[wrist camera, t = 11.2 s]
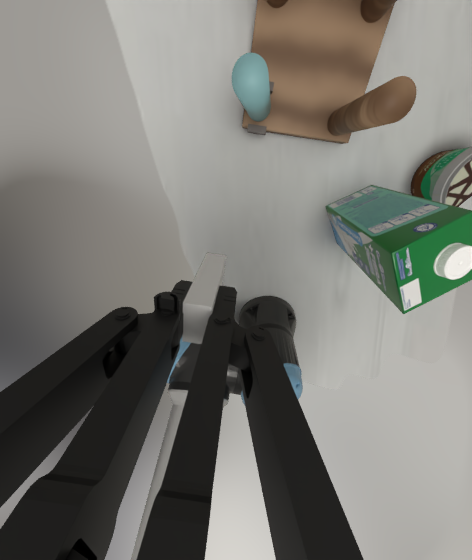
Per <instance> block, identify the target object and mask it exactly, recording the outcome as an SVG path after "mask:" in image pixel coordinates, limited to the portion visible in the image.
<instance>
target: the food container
mask: <svg viewBox="0 0 472 560" xmlns="http://www.w3.org/2000/svg"><path fill="white" fill-rule="evenodd" d="M411 194H412V196H416V197H420V198H424V199H428V200H432V201H436V202H440V203H444V204H448V205H452V206H455V207H459V206H460V205H461V204H462V203H463V202H464V201H466V200H467V199H468V198H470V197H471V196H472V147H469V148H463V149H456V150H449V151H443V152H440V153H437V154H435V155H433V156H431V157H430V158H428V159H427V160H426V161H424V162H423V163H422V164H421V165H420V167H419V168H418V169H417V171H416V172H415V174H414V176H413V179H412V182H411Z"/></svg>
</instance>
